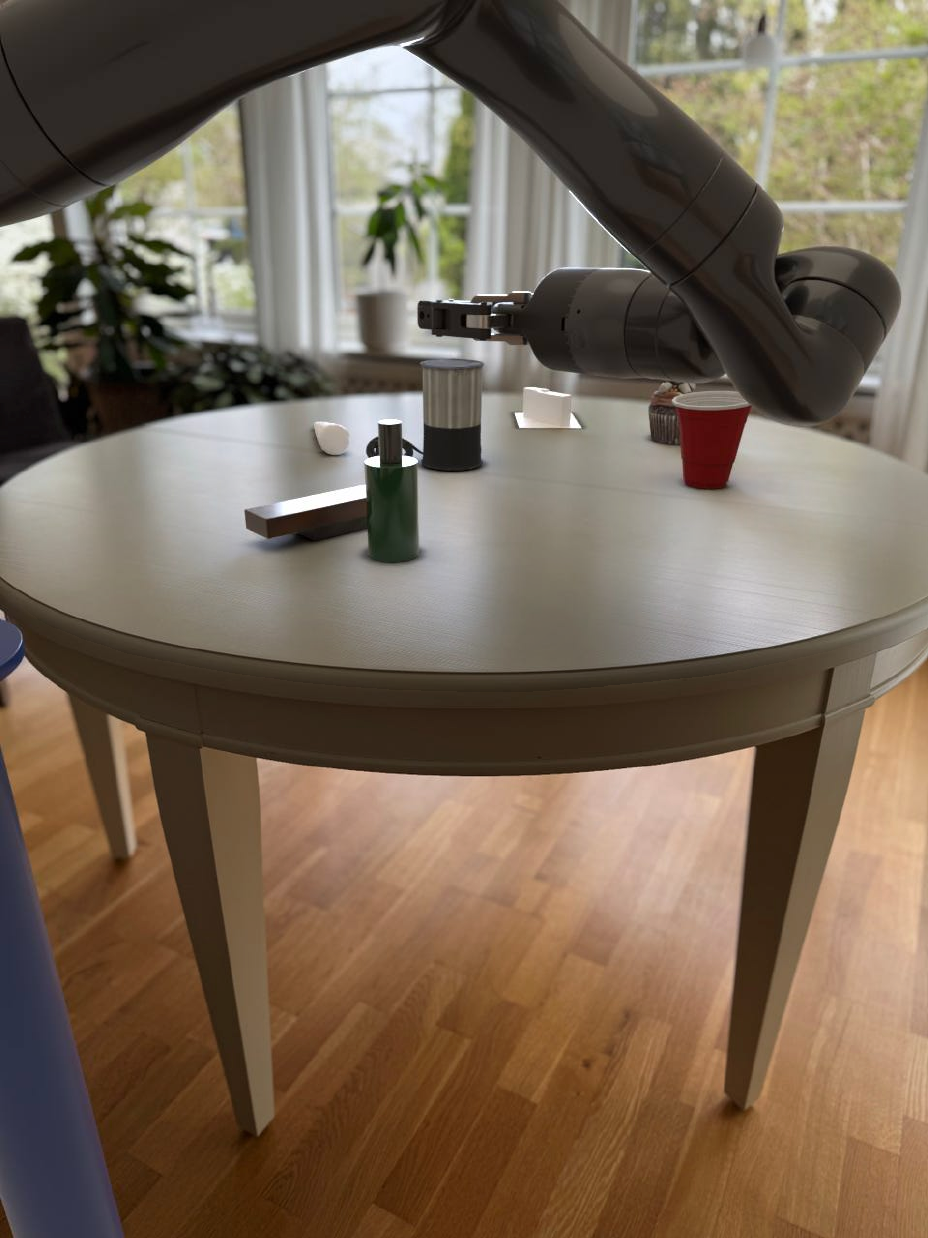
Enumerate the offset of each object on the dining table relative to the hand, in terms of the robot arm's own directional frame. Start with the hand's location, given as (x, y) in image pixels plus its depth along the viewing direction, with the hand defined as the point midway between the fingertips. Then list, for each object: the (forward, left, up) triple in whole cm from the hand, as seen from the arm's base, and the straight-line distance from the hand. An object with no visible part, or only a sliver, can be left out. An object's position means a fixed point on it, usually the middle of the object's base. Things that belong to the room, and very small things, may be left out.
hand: (458, 312), depth 74 cm
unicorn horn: (+25, +63, -25) cm, 72 cm away
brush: (-1, +22, -25) cm, 33 cm away
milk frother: (+28, +40, -25) cm, 55 cm away
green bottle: (0, +11, -25) cm, 27 cm away
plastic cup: (+50, +6, -25) cm, 56 cm away
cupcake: (+71, +26, -25) cm, 80 cm away
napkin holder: (+67, +52, -25) cm, 88 cm away
